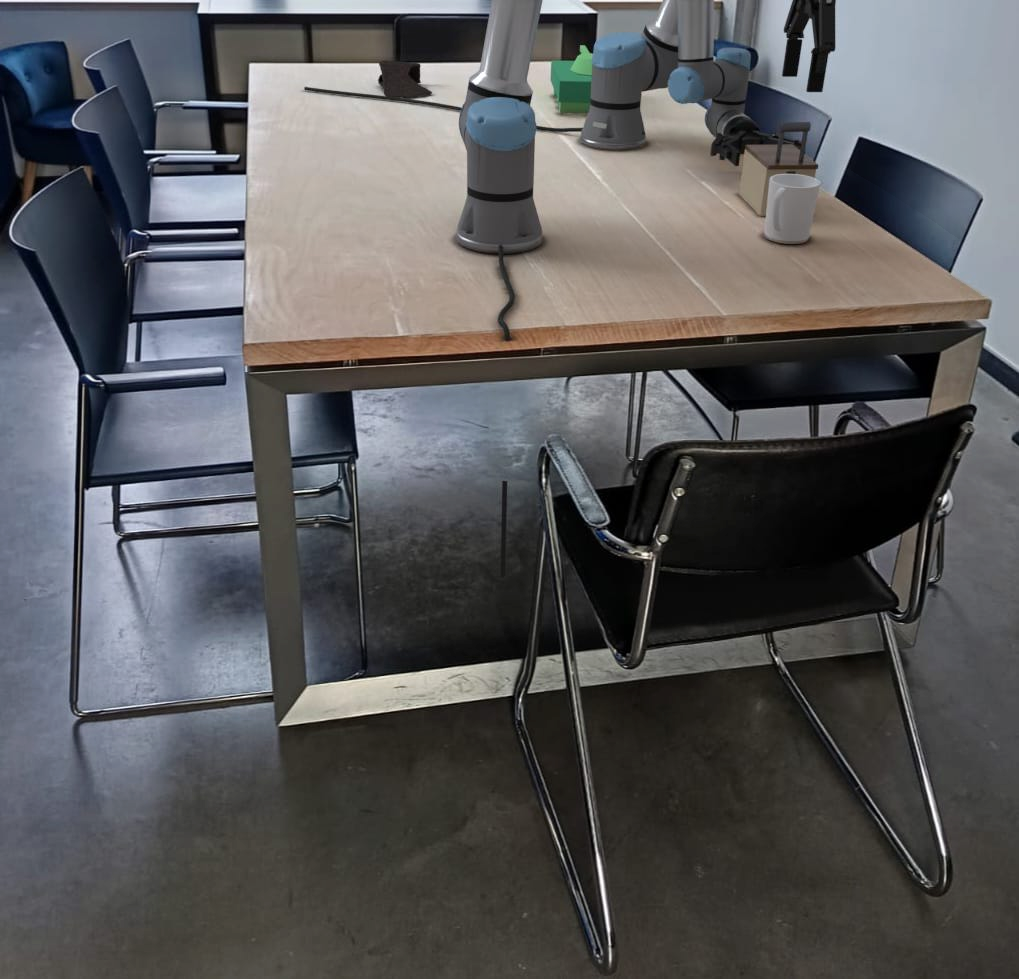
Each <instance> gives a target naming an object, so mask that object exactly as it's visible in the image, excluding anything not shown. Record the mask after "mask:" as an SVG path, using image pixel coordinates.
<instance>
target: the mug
mask: <svg viewBox="0 0 1019 979" xmlns="http://www.w3.org/2000/svg"><path fill="white" fill-rule="evenodd" d="M821 183H822V182H821V180H820V179H818V178H816V177H815V178H813V177H810V176H806V175H799V174H778V175H774V176H772V177H770V180H769V189H768V199H767V210H766V216H765V221H764V231H763V235H764V237H765V238H766V239H767V240H769V241H771V242H775V243H777V244H778V243H779V244H785V245H798V244H799V245H800V244H804V243H806V242H807V241H809V238H810V234H811V229H812V224H813V219H814V216H815V210H816V206H817V202H818V197H819V193H820V187H821Z"/></svg>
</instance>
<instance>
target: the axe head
mask: <svg viewBox="0 0 1019 979" xmlns="http://www.w3.org/2000/svg"><path fill="white" fill-rule="evenodd" d="M378 66H379V68H380V72H381V74H379V75H378V79H377V84H378V85H379V86H380V87H381V88H382V89H383V96H389V97H397V98H405V99H412V98H418V97H425V96H429V95H432V94H433V91H431V90H430V89H428V88H427V87H425V86H422V85H421V84H422V82H421V63H419V62H410V61H408V62H407V61H397V60H388V59H387V60H380V61H379V62H378Z"/></svg>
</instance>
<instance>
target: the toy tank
mask: <svg viewBox="0 0 1019 979" xmlns="http://www.w3.org/2000/svg"><path fill="white" fill-rule="evenodd" d="M579 52H580V54H578V55H577V56H576V59H575V60H555V59H554V60H551V61H550V83H551V86H552V88H553V96H554V97H556V100H557V102H558V113H559V114H575V115H576V114H577V115H578V114H579V115H580V114H581V115H583V114H585V115H586V114H587V115H588V112H589V109H590V100H591V79H592V56H593V53H591V52H590V51H589V50H588V47H587V46H586V45H583V44H582V45H581V44H580V45H579Z"/></svg>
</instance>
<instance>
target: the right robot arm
mask: <svg viewBox="0 0 1019 979" xmlns="http://www.w3.org/2000/svg"><path fill="white" fill-rule="evenodd" d="M714 36H715V0H662V1H661V4H660V6H659V9H658V10H657V13H656V15H655V17H652V18H649V19H648V20H647V21H646V23H645V26H644V27H643V31H642V33H639V32H630V31H627V32H626V31H624V32H623V31H622V32H619V33H618V32H614V33H609V34H606V35H603V36H600V37H599V38H598V39H596V41H595V43H594V45H593V53H592V54H593V56H592V79H591V100H590V109H589V112H588V114H587V115H586V118H585V119H584V120H585V121H584V123H583V127H550V126H542V125H536V131H537V130H539V131H542V132H543V131H545V132H554V133H570V132H571V133H572V132H574V133H575V132H576V133H577V132H579V133H580V143H581V144H582V145H585V146H586V147H589V148H594V149H599V150H606V151H629V150H637V149H639V148H643V147H644V146H645V145H646V140H647V134H646V130H645V125H644V121H643V116H642V111H641V105H642V93H644V92H648V91H655V90H659V89H667V90H668V94H669V96H670V97H671V98H672V100H673V101H674V102H676V103H678V104H680V105H681V104H682V105H685V104H687V105H688V104H696V103H700V102H704V101H707V100H711V103H710V105H709V106H708V108H707V109H706V112H705V113H704V114H705V115H704V124H705V127H706V128H707V130H708V132H709V133H710V134H711V135H712V136H713V137H714V139H713V141H712V142H711V146H710V154H709V155H710V156H711V157H716V156H717V155H719V157H718V160H719V161H726V159H727V160H728V161H729V162H730V163H731V164H732V165H733V166H734V167H739V166H740V160H741V155H744V153H745V145H778V139H779V132H772V133H771V134H768V133H763V132H761V129H760V126H759V125H758V123H757V122H755V121H754V120H753V119H752V118H751V117H750V116H747V115H746V114H745V109H746V102H747V100H746V99H747V93H748V88H749V79H750V73H751V58H752V56H751V52H750V51H749V50H747V49H745V48H741V47H722V48H720V49H718V51H717V52H716V56H715V59H714V48H715V47H714V46H715V44H714V43H715V40H714V39H715V37H714ZM714 60H715V61H714ZM303 88H304V91H307V92H309V91H310V92H316V93H323V94H332V95H340V96H348V97H349V96H350V97H358V98H366V99H374V100H375V99H376V100H384V101H385V100H386V101H393V102H400V103H401V102H402V103H409V104H416V105H417V104H418V105H424V106H429V107H430V106H431V107H437V108H443V109H448V110H454V111H459V112H460V111H461V109H462V107H461V106H455V105H450V104H446V103H445V104H444V103H440V102H439V103H438V102H433V101H428V100H420V99H412V98H397V97H389V96H385V95H378V94H371V93H370V94H369V93H361V92H351V91H344V90H343V91H342V90H334V89H333V90H332V89H327V88H326V89H325V88H318V87H310V86H304V87H303ZM801 143H802V140H800V139H799V138H798V139H795V138H791V137H788V136H785V135H784V137H783V143H782V145H787V144H793V145H794V146H795V147H796V148H798V149H799V150H800V149H801ZM804 154H805V155H806V152H805V153H804Z"/></svg>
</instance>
